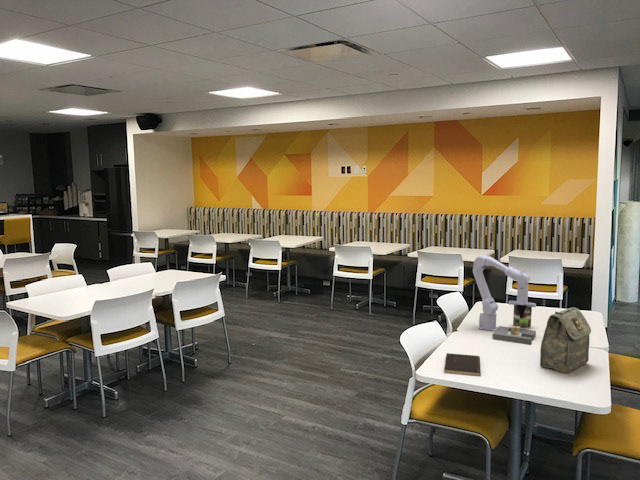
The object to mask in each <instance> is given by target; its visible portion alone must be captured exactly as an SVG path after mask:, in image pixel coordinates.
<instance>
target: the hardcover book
mask: <svg viewBox="0 0 640 480" xmlns="http://www.w3.org/2000/svg"><path fill="white" fill-rule="evenodd" d="M445 354H446V356H445V365H444V370H445V373H446V374H457V375H467V376H479V377H481V375H482V373H481V370H482V369H481V358H480V356H479V355H473V354H472V355H471V354H459V353H448V352H447V353H445Z"/></svg>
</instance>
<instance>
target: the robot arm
mask: <svg viewBox="0 0 640 480" xmlns="http://www.w3.org/2000/svg"><path fill="white" fill-rule="evenodd" d="M486 267H494V268H495V269H498V270H500V271H502V272H504V274H505V276H507V277H509V278H510V279H512V280H514V281H516V283H517V291H516V292H517V293H516V294H517V295H516V300H508V305H511V306H512V305H513V306H514V305H517V309H518V311H519V315H520V318H523V315H524V312H525V310H526V308H527V306H530V307H532V308H536V307H537V303H535V302H530V301H528V299H529V298H528V297H529V282H530V281H531V280H530V279H531V277H530V275H529V274H528V273H526V272H523V271H520V270H518V269H516V266H507V265H505V264H503V263H501V262H500V261H498V260H497V259H495V258H494V257H492V256H491V255H488V254H481V255H478V256H476V257H475V259H474V260H473V265H472V274H473V277H474V279H475V282H476V284H477V288H478V290H479V294H480V296H481V299H482V301H481V305H482V312H480V313H479V318H478V329H479V330H486V331H493V332H495V331H496V329H497V328H498V327H499V326H497V311H498V310H499V306H498V305H499V304H498V303H497V302H495V299H494V298H493V297H492V295H491V292H490V289H489V287H488V284H487V282H486V281H487V280H486V279H485V275H484V270H485V268H486Z"/></svg>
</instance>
